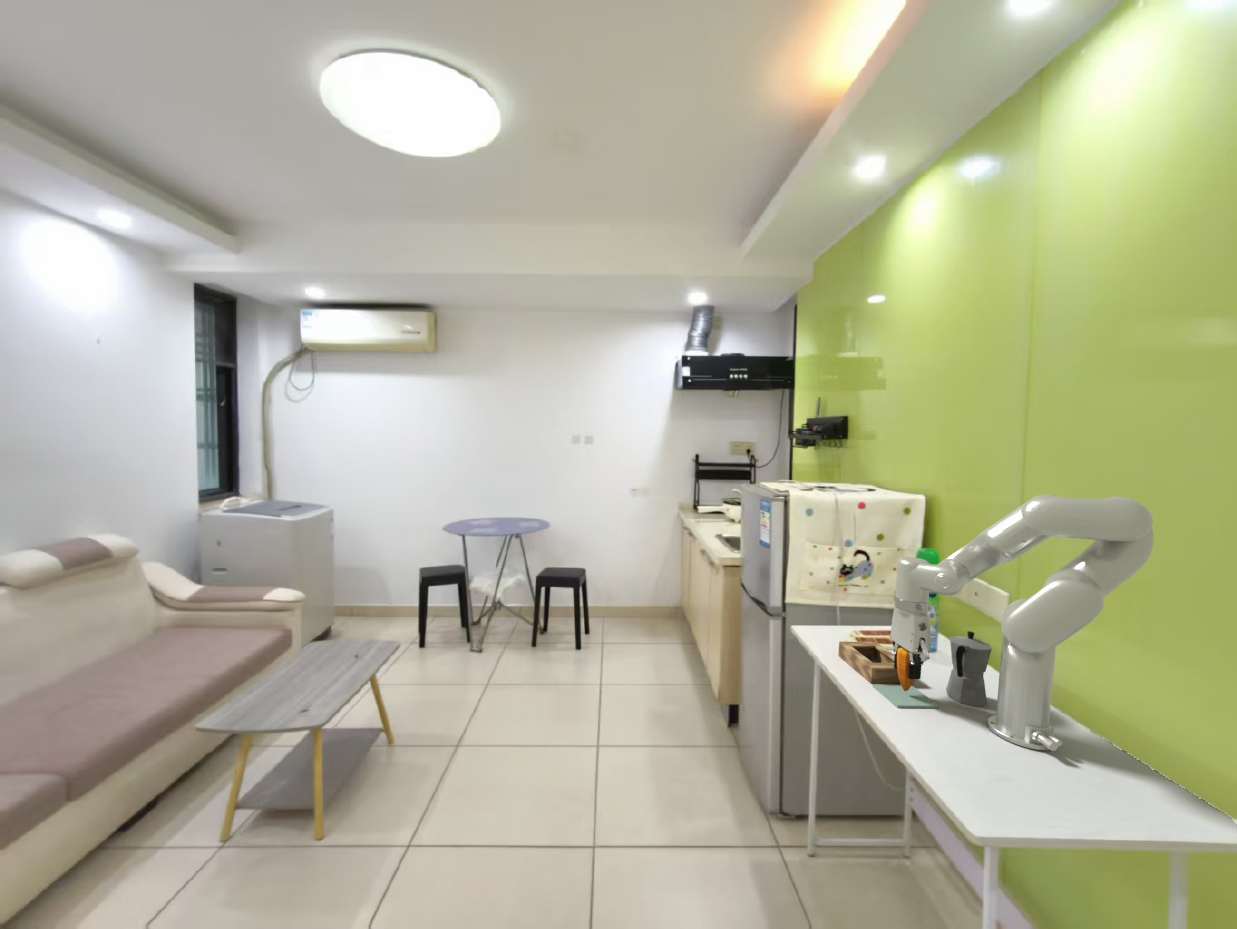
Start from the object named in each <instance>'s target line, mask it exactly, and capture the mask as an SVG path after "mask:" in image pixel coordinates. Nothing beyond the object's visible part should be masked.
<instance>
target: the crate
mask: <svg viewBox="0 0 1237 929" xmlns="http://www.w3.org/2000/svg"><path fill="white" fill-rule="evenodd" d="M837 655H838V657H839V658H840V659H842V661H843V662H845V663H846V664H847V665H848V666H849V667H850V668H852V669H853V671H855V672H856V673H857V674H859V675H860V676H861V677H863V679H865V680H866V681H867V682H869V684H871V685H873V684H897V685H901V683H900V680H899V677H898V670H897V669H895V668H894V656H895V653H893V652H891V651H890V650H888V649H886V648H885V647H884V646H882V644H880V643H878V642H877V641H839V642H838V654H837ZM869 658H870V659H871V658H872V659H873V658H874V659H875V660H876V661H878V662H872V661H871V660H870V659H869Z"/></svg>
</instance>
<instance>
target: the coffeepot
mask: <svg viewBox="0 0 1237 929" xmlns="http://www.w3.org/2000/svg"><path fill="white" fill-rule="evenodd" d="M966 632H967V636H962V635H957V636H949V642H950V653H951V663H952V665H953V666H952V669H951V670H950V671H951V672H950V675H949V679H948V683H947V685H946V690H945V691H946V695H947V696H948V697H949V698H950V699H952V700H953V701H955V702H957V703H960V704H962V705H966V706H970V707H977V708H978V707H979V708H980V707H981V708H982V707H984V706H986V705H988V702H987V693H986V692H987V691H986V686H985V678H984V674H985V673H986V671H987V667H988V663H989V660H990V657H991V653H992V647H991V645H990V643H987V642H984V641H982V639H980V638H977V637H974V636H975V632H974V631H972V630H971V631H970V630H969V631H966Z"/></svg>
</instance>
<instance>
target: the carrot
mask: <svg viewBox="0 0 1237 929" xmlns="http://www.w3.org/2000/svg"><path fill="white" fill-rule="evenodd" d="M917 656H918V654H914V657H915V658H916V657H917ZM908 663H910V655H909V651H908V650H906V649H905V648H903V647H901V648H898V650H897V670H898V677H899V680H900V683H901V684H900V685H902V688H903V689H904V691H907V690H909V688H910V687H911V686H913V684H914V682H915V681H916V679H909V678H908V677H907V676H908Z"/></svg>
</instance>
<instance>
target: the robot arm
mask: <svg viewBox="0 0 1237 929" xmlns="http://www.w3.org/2000/svg"><path fill="white" fill-rule="evenodd" d="M1153 522H1154V519H1153V516H1152V514H1151V511H1149V509H1148V508H1147V507H1146V506H1145V505H1143V504H1142V503H1140V502H1139V501H1137V500H1135V499H1133V498H1130V497H1126V496H1120V495H1119V496H1118V495H1117V496H1115V495H1113V496H1110V497H1106V498H1087V497H1085V498H1083V497H1080V498H1079V497H1063V496H1057V495H1053V494H1049V493H1047V494H1046V493H1045V494H1037V495H1035V496H1034V497H1032V498H1030V499H1028V500H1027V501H1025V502H1024V503H1023V504H1021V505H1019V506H1018V507H1017V508H1015V509H1014V510H1012V511H1011V512H1009V513H1008V514H1006V515H1005V516H1004V517H1002V518H1000V519H999V520H997V521H996V522H995V523H993V524H991V525H990V526H988V527H987V528H986V529H984V530H983V531H981V532H980V533H979V534H978V535H977V536H976V537H975V538H974V539H972V540H971V541H969V542H968V543H967V544H965V545H964V546H962V547H960V548H958V549H957V550H956V551H954V552H953V553H952V554H950V555H949V556H947V557H946V558H944V559H943V560H942V561H940V562H939V563H937V564H931V563H930V562H929V561H928V560H926V559H923V558H919V557H913V556H912V557H911V556H904V557H900V558H899V559H898V560H897V566H896V580H895V596H894V609H893V614H892V618H891V628H890V633H889V638H890V640H891V643H892V646H893V649H892V650H893V652H894V653H893V654H894V655H895V656H894V668H895V669H897V650H898V648H901V647H903V648H905V649H906V650H908V651H909V655H910V663H908V676H907V677H908V678H909V679H915V680H920V679H921V678H922V665H924V663H925V662H926V661H928V660H930V659H931V658H930V657H931V656H930V653H931V648H932V646H931V644H932V632H931V631H932V630H931V621H930V615H928V614H929V600H930V598H929V596H930V592H932V593H936V594H938V595H941V596H945V597H946V596H955V595H958V594H959V593H960V592H962V590H963V589H964V587H965V586H966V585H967V584H968V583H970V582H971V581H973V580H974V579H976V578H978V577H980V575H982V574H984V573H985V572H987V571H989V570H991V569H992V568H994V567H996V566H998V565H1000V564H1006V563H1009V562H1011V561H1014V560H1015V559H1017V558H1020V556H1022V555H1024V554H1025V553H1027V552H1028V551H1030V550H1031V549H1033V548H1034V547H1036V546H1038V545H1040V544H1041V543H1043V542H1044V541H1046V540H1048V539H1049V538H1050V537H1056V538H1057V537H1058V538H1067V539H1080V540H1094V541H1093V542H1092V543H1091V544H1090V545H1088V546H1087V547H1086V548H1085V549H1084V550H1082V552H1081V553H1079V554H1078V555H1077V556H1076V557H1074V558H1072V560H1071V561H1069V562H1068V563H1067V564H1065V565H1064V566H1063V567H1061V568H1060V569H1057V571H1055V572H1053V573H1052V574H1050V575H1049V576H1047V578H1046V579H1045V580H1044V583H1043V587H1041V588H1040V589H1039V590H1037V591H1036V592H1035V593H1034V594H1032V595H1031V596H1030V597H1029V598H1020V599H1017V600H1014V601H1012V602H1010V603H1009V604H1008V606H1007V607H1006V608H1005V610H1004V613H1003V615H1002V620H1001V627H1000V628H1001V633H1002V641H1001V651H1000V662H999V664H1000V665H999V675H998V676H999V677H998V687H997V688H998V689H997V698H996V699H997V701H996V714H995V715H991V716H988V717H987V721H986V722H987V727H988V728H989V730H991V731H992V733H994V734H995V735H997V736H999V737H1000V738H1002V739H1003V740H1006V741H1007V742H1010V743H1012V744H1014V745H1017V746H1020V747H1023V748H1027V749H1031V750H1037V751H1052V752H1055V751H1057V750H1058V748H1059V747H1061V746H1062V745H1063V741H1061V739H1059V738H1057V737H1055V735H1054V727H1053V726H1051V725H1050V717H1051V716H1050V715H1051V704H1052V692H1053V682H1054V680H1053V679H1054V674H1055V661H1056V648H1057V646H1059V645H1060V644H1062V643H1064V642H1065V641H1066V640H1068V639H1069V638H1071V637H1072V636H1074V635H1075V634H1076V633H1078V632H1080V631H1081V630H1082V629H1084V628H1085V627H1086V626H1088V625H1089V624H1090V623H1092V622H1093V621H1094V620H1096V619H1097V617H1098V616H1100V614H1101V612H1102V611H1103V608H1104V604H1105V600H1104V599H1105V598H1106V597H1107V596H1108V595H1110V594H1111V593H1112V592H1114V590H1116V589H1117V588H1119V587H1120V586H1121V585H1123V584H1124V583H1125V582H1126V581H1128V580H1129V579H1130V578H1131V577H1133V576H1135V574H1136V573H1138V572H1139V571H1140V570H1141V568H1142V567H1143V566H1145V564H1146V563H1147V562H1148V560H1149V558H1150V556H1151V553H1152V551H1153V547H1154V530H1153V529H1154V528H1153ZM914 654H918V656H917V657H916V658H915V657H914Z"/></svg>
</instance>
